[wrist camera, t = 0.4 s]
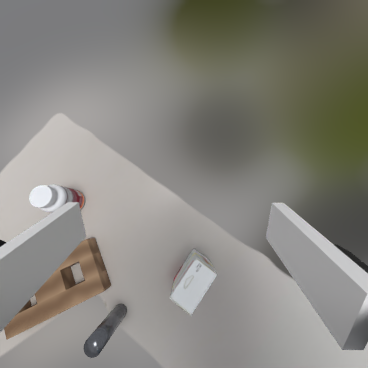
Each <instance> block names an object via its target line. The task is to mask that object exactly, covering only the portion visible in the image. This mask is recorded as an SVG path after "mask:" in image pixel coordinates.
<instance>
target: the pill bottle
mask: <svg viewBox="0 0 368 368" xmlns="http://www.w3.org/2000/svg"><path fill="white" fill-rule="evenodd" d="M29 200H30V203H31V204H32V205H33V206H34V207H37V208H40V209H41V210H43V211H45V212H54V211H55V210H57V209H58V208H60V207H61V206H63V205H64V204H66V203H67V202H79V206H80V210H81V209H82V208H83V206H84V203H85V199H84V196H83V194H82V193H81V192H79V191H77V190H73V189H70V188H66V187H63V186H59V185H48V186H46V185H39V186H37V187H35V188H34V189H33V190H32V191H31V193H30V196H29Z"/></svg>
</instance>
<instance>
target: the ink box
mask: <svg viewBox="0 0 368 368" xmlns="http://www.w3.org/2000/svg"><path fill="white" fill-rule="evenodd" d="M216 276H217V273H216V271H215V269H214V267H213V266H212V264H211V262H210V260H209V259H208V258H206V257H205V256H204V255H202V254H201V253H200V252H198V251H197V250H195V249H193V250H192V251H191V253H190V255H189V256H188V258H187V259H186V261H185V262H184V264H183V266H182V267H181V269H180V270H179V272H178V273H177V275H176V276H175V278H174V282H173V287H172V292H171V297H170V299H171V300H172V301H173V302H174V303H175V304H177V305H178V306H179V307H180V308H182V309H183V310H184V311H185V312H187V313H188V314H189V315H190V316H191V315H192V313H193V312H194V310H195V309H196V307H197V306H198V304H199V303H200V301H201V300H202V298H203V297H204V295H205V293H206V292H207V290H208V289H209V287H210V286H211V284H212V282H213V281H214V279H215V278H216Z"/></svg>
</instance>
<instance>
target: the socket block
mask: <svg viewBox="0 0 368 368" xmlns="http://www.w3.org/2000/svg"><path fill="white" fill-rule="evenodd" d="M78 262H79V263H80V266H81V269H82V273H83V276H84V279H85V280H84V281H82V282H80V283H78V284H75V281H74V277H73V274H72V271H71V267H70V266H72V265H74V264H76V263H78ZM110 286H111V283H110V280H109V277H108V274H107V271H106V269H105V266H104V263H103V260H102V257H101V254H100V251H99V248H98V245H97V243H96V240H95V238H91V239H86V240H84V241H82V242H81V243H80V244H79V245H78V246H77V247H76V248H75V250H74V251H73V252H72V253H71V254H70V255H69V256H68V257H67V258H66V260H65V261H64V262H63V263H62V264H61V265H60V266H59V267H58V269H57V270H56V271H55V272H54V273H53V274H52V275H51V276H50V278H49V279H48V280H47V281H46V282H45V283H44V284H43V285H42V286H41V288H40V289H39V290H38V291H37V292H36V293H35V296H36V300H37V304H35V305H33V306H31V302H30V300H29V301H28V302H27V303H26V304H25V305H24V307H23V308H22V309H21V310H20V311H19V312H18V313H17V314H16V316H15V317H14V318H13V319H12V320H11V321H10V322H9V323H8V324H7V326H6V327H5V328H4V330H5V334H6V339H9V338H11V337H13V336H15V335H17V334H19V333H21V332H23V331H25V330H27V329H29V328H31V327H33V326H35V325H37V324H39V323H41V322H43V321H45V320H47V319H49V318H51V317H53V316H55V315H57V314H59V313H61V312H63V311H65V310H67V309H69V308H71V307H73V306H75V305H77V304H79V303H81V302H83V301H85V300H87V299H89V298H91V297H93V296H95V295H97V294H99V293H101V292H103V291H105V290H106V289H107V288H109V287H110Z"/></svg>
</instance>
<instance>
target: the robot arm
mask: <svg viewBox="0 0 368 368" xmlns="http://www.w3.org/2000/svg"><path fill="white" fill-rule="evenodd" d="M85 237H86V233H85V228H84V224H83V219H82V215H81V210H80V206H79V202H67V203H66V204H64V205H63V206H61V207H60V208H58V209H57V210H55V211H54V212H52V213H51V214H49V215H48V216H46V217H45V218H43V219H42V220H40V221H39V222H37V223H36V224H34V225H33V226H31V227H30V228H28V229H27V230H25V231H24V232H22V233H21V234H19V235H18V236H16V237H15V238H13V239H12V240H10V241H8V242H7V243H5V244H4V245H2V246H1V247H0V332H1V331H2V330H3V329H4V328H5V327H6V326H7V324H8V323H9V322H10V321H11V320H12V319H13V318H14V317H15V316H16V314H17V313H18V312H19V311H20V310H21V309H22V308H23V307H24V305H25V304H26V303H27V302H28V301H29V300H30V299H31V298H32V297H33V295H34V294H35V293H36V292H37V291H38V290H39V289H40V288H41V286H42V285H43V284H44V283H45V282H46V281H47V280H48V279H49V278H50V276H51V275H52V274H53V273H54V272H55V271H56V270H57V269H58V267H59V266H60V265H61V264H62V263H63V262H64V261H65V260H66V258H67V257H68V256H69V255H70V254H71V253H72V252H73V251H74V250H75V248H76V247H77V246H78V245H79V244H80V243H81V242H82V241H83V239H84V238H85ZM266 238H267V240H268V241H269V243H270V244H271V246H272V247H273V249H274V250H275V251H276V253H277V255H278V256H279V258H280V259H281V260H282V262H283V263H284V265H285V266H286V268H287V269H288V271H289V272H290V274H291V275H292V277H293V278H294V280H295V281H296V283H297V284H298V286H299V287H300V288H301V290H302V291H303V293H304V294H305V296H306V297H307V299H308V300H309V302H310V303H311V305H312V306H313V308H314V309H315V311H316V312H317V313H318V315H319V316H320V318H321V319H322V321H323V322H324V324H325V325H326V327H327V328H328V330H329V331H330V333H331V334H332V336H333V337H334V338H335V340H336V341H337V343H338V344H339V346H340V347H341V349H342V350H364V348H365V346H366V344H367V342H368V266H367V265H366V264H365V263H363V262H361V261H360V260H359V259H358V258H357V257H356V256H355V255H353V254H352V253H351V252H349V251H347V250H345V249H344V248H342V247H340V246H338V245H333V244H332V243H331V242H330V241H328V240H327V239H326V238H325V237H324V236H322V235H321V234H320V233H319V232H318V231H316V230H315V229H314V228H313V227H312V226H310V225H309V224H308V223H307V222H306V221H304V220H303V219H302V218H301V217H300V216H298V215H297V214H296V213H295V212H294V211H293V210H291V209H290V208H289V207H288V206H286V205H285V204H284V203H272V205H271V211H270V217H269V223H268V228H267V234H266Z"/></svg>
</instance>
